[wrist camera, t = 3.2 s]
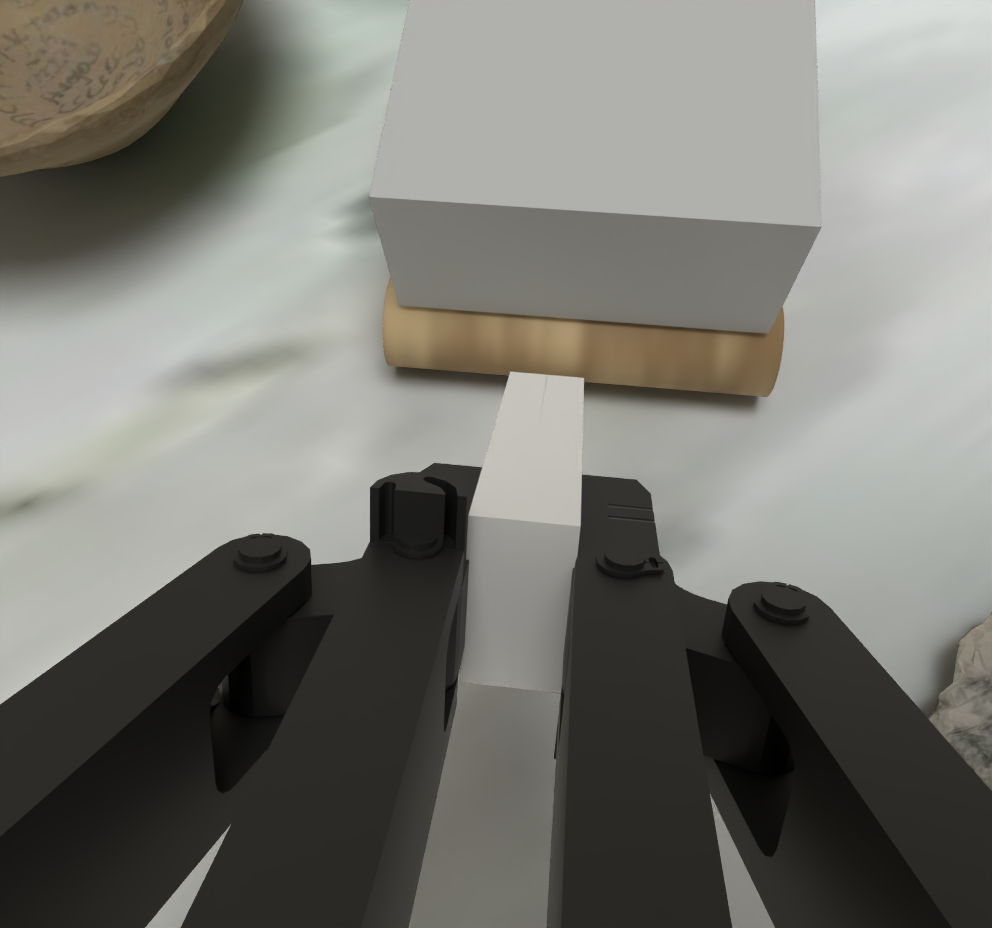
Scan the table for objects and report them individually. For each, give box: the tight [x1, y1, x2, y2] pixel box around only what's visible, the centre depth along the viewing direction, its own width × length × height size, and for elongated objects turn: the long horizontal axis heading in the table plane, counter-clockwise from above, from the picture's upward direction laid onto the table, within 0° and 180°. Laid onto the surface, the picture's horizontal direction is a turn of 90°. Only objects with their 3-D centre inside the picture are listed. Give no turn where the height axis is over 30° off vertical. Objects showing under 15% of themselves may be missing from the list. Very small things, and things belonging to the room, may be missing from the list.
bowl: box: [0, 0, 243, 177], centre depth 30 cm, size 18×18×8 cm
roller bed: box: [383, 278, 784, 397], centre depth 30 cm, size 12×15×3 cm
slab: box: [369, 0, 822, 334], centre depth 25 cm, size 11×10×5 cm
